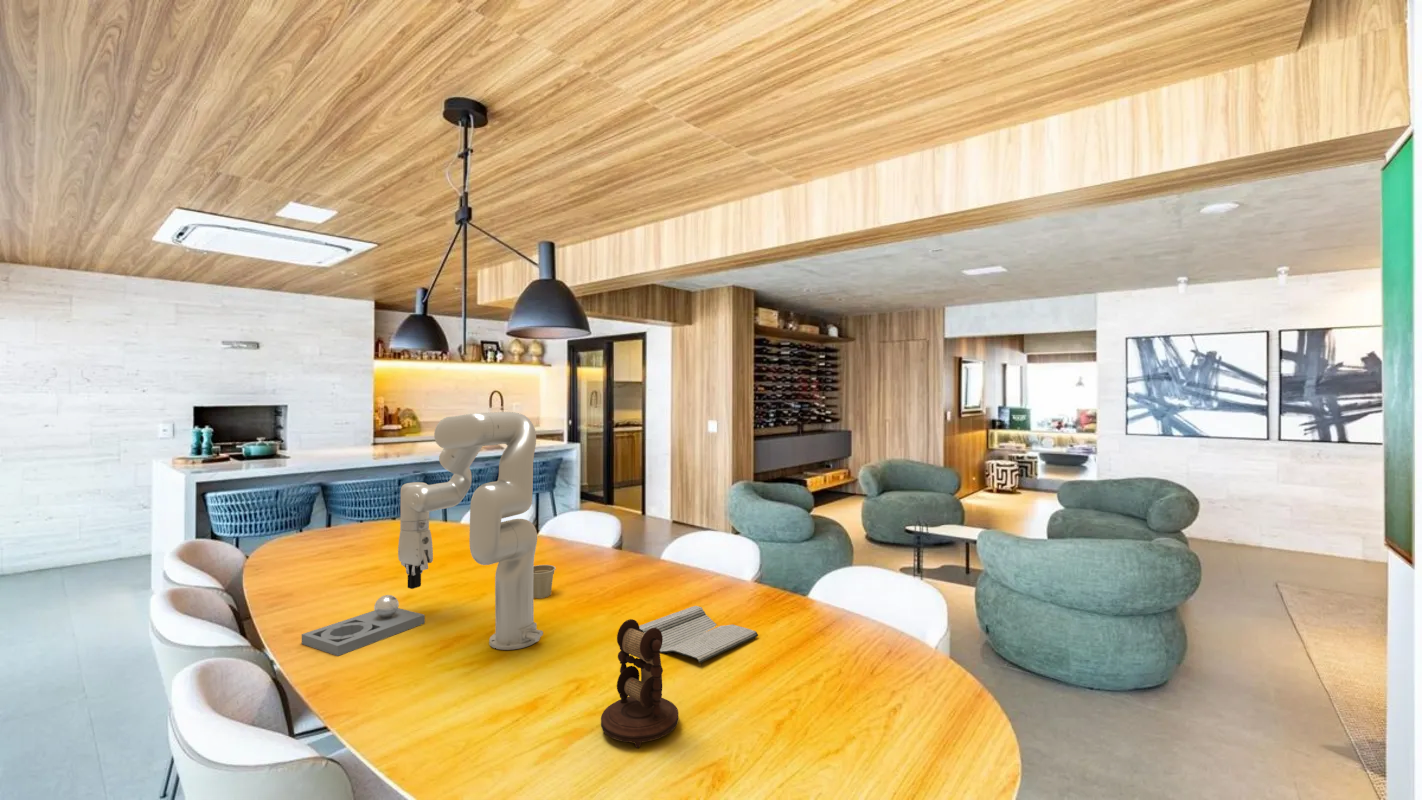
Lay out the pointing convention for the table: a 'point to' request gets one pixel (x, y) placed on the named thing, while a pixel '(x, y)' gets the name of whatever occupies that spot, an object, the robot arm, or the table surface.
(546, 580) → the flower pot
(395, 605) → the steel ball
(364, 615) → the hole board
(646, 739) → the thread spool stand
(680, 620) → the mat
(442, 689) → the table surface
